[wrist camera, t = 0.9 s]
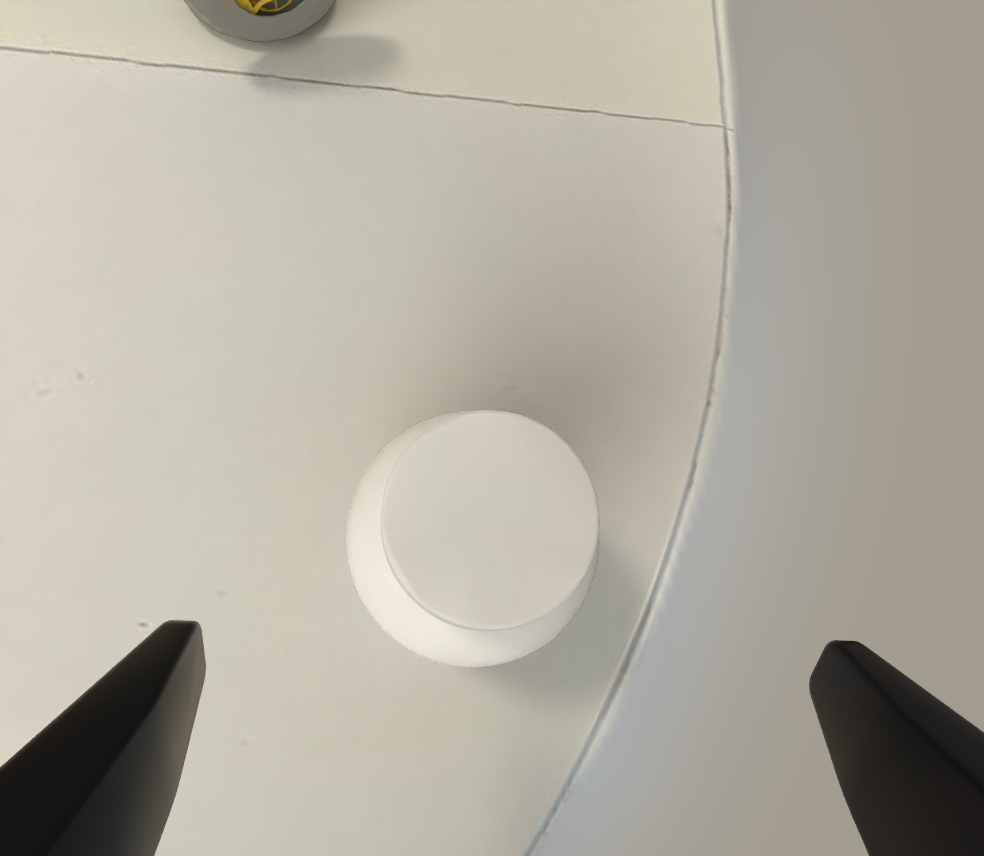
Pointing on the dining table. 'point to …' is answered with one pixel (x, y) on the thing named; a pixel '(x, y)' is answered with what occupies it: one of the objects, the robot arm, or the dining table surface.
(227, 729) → the dining table surface
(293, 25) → the pocket watch
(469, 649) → the supplement bottle
